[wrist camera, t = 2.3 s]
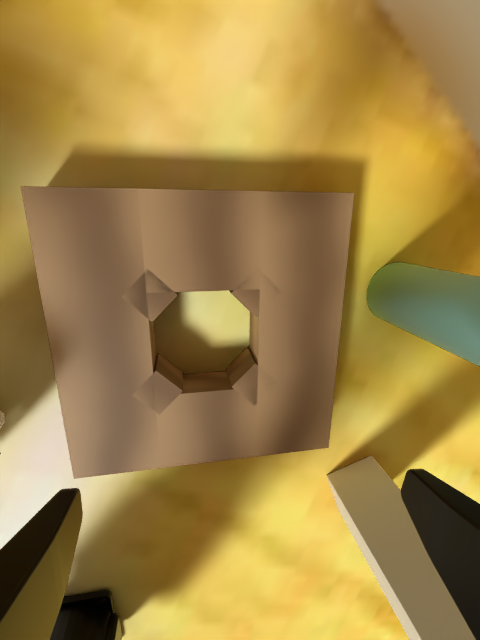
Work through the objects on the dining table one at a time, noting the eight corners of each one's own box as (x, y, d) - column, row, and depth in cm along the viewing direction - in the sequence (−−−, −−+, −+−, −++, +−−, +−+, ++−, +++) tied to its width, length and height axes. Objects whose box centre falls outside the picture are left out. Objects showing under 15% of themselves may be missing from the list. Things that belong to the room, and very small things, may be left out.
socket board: (85, 450, 21) (73, 478, 19) (43, 191, 17) (20, 186, 14) (313, 425, 24) (328, 447, 22) (333, 196, 19) (354, 192, 17)
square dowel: (338, 509, 27) (452, 716, 16) (326, 475, 26) (441, 674, 14) (381, 490, 27) (523, 680, 16) (371, 455, 26) (519, 635, 15)
